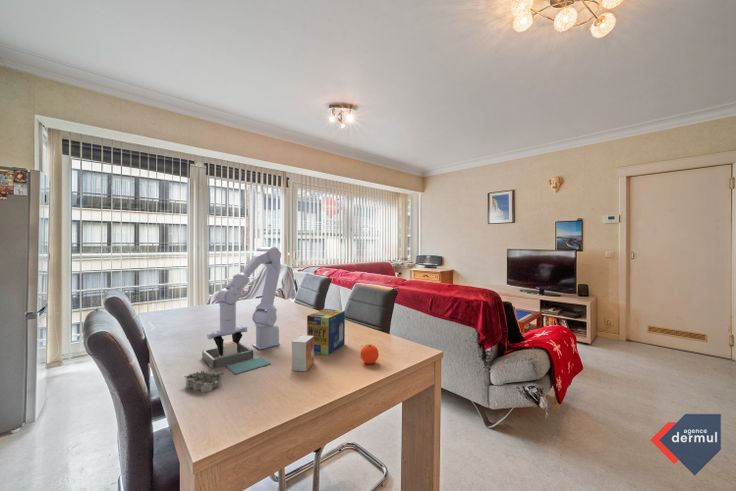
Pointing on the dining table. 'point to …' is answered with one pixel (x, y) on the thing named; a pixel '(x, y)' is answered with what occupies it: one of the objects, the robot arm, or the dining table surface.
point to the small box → (302, 353)
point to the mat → (248, 365)
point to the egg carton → (198, 380)
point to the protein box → (327, 330)
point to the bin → (227, 360)
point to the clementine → (369, 353)
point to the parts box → (229, 348)
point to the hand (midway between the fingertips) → (227, 353)
